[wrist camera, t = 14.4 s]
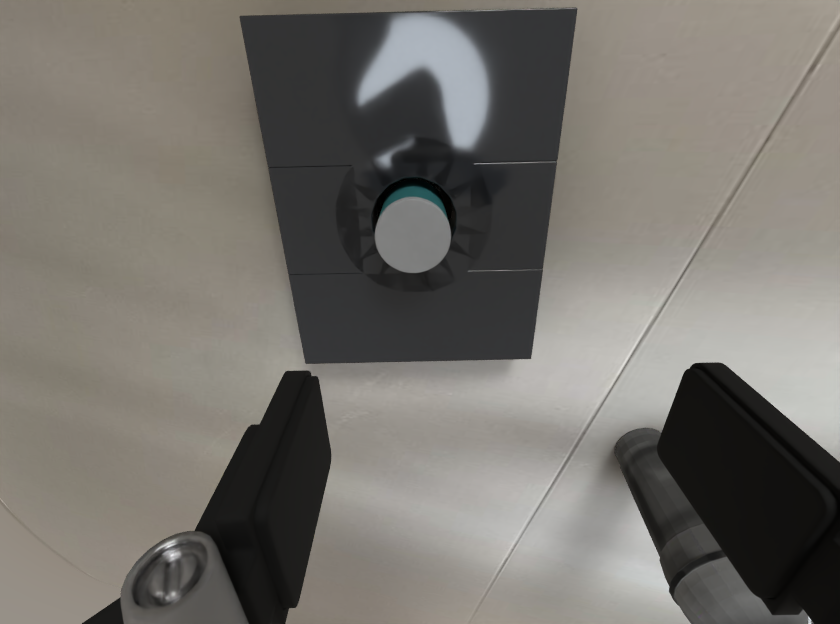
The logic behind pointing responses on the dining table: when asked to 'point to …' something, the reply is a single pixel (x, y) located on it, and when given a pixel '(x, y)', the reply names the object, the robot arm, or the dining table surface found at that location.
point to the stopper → (413, 227)
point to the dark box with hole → (413, 171)
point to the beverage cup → (688, 543)
